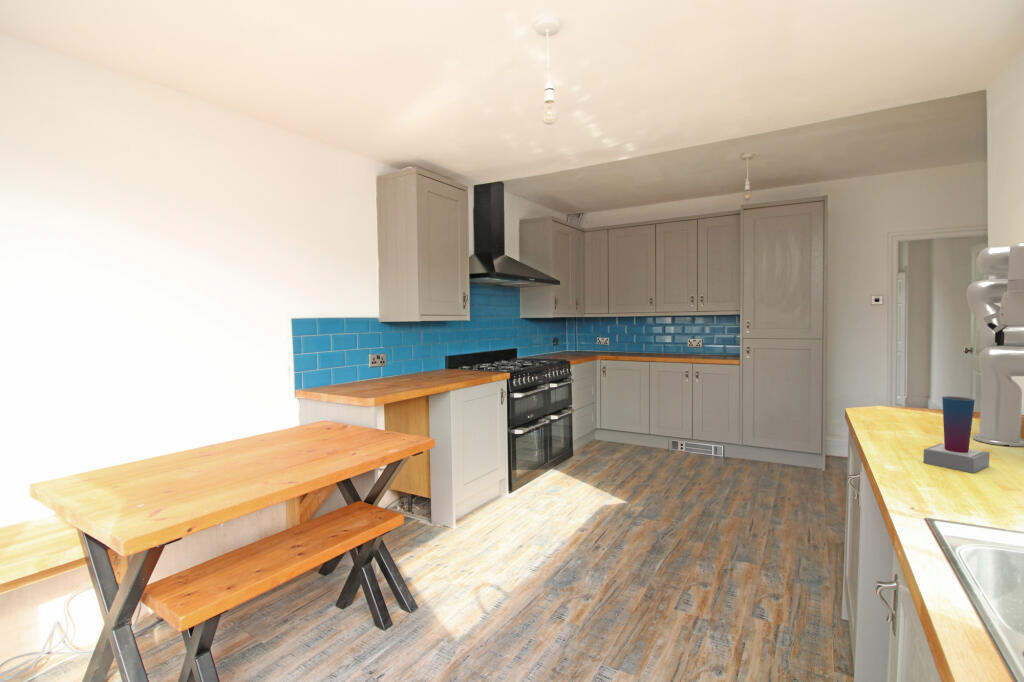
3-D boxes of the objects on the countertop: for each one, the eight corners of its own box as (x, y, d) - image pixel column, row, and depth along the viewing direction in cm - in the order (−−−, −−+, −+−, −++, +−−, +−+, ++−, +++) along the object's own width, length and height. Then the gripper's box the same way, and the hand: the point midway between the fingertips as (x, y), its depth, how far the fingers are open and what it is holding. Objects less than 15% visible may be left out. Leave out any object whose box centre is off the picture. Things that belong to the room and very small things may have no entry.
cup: (979, 454, 135) (981, 400, 134) (950, 453, 137) (952, 400, 136) (961, 447, 142) (963, 396, 141) (934, 446, 143) (936, 395, 142)
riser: (939, 456, 147) (940, 443, 147) (988, 466, 137) (989, 451, 137) (923, 462, 141) (923, 448, 141) (973, 473, 132) (974, 458, 132)
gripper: (1075, 285, 133) (1072, 347, 134) (990, 288, 148) (987, 344, 149) (1067, 284, 129) (1063, 348, 131) (980, 288, 144) (978, 345, 145)
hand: (1023, 346), depth 140 cm, fingers open, 9 cm apart
